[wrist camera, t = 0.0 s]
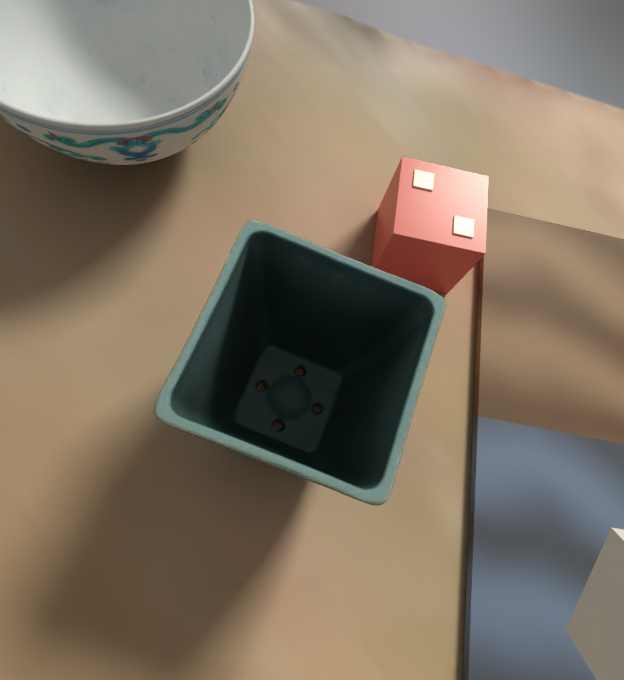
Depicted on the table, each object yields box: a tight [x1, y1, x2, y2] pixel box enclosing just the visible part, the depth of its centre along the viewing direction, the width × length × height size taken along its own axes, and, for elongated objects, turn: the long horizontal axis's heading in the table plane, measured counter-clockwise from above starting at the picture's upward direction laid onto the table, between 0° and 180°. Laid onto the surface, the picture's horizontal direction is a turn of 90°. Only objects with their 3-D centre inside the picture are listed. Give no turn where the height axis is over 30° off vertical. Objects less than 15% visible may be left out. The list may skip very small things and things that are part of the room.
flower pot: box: [154, 220, 445, 505], centre depth 22 cm, size 9×9×9 cm
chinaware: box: [0, 0, 254, 165], centre depth 27 cm, size 15×15×8 cm
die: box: [371, 156, 488, 293], centre depth 28 cm, size 5×5×5 cm
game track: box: [463, 208, 624, 680], centre depth 28 cm, size 28×11×1 cm, turn 171°
